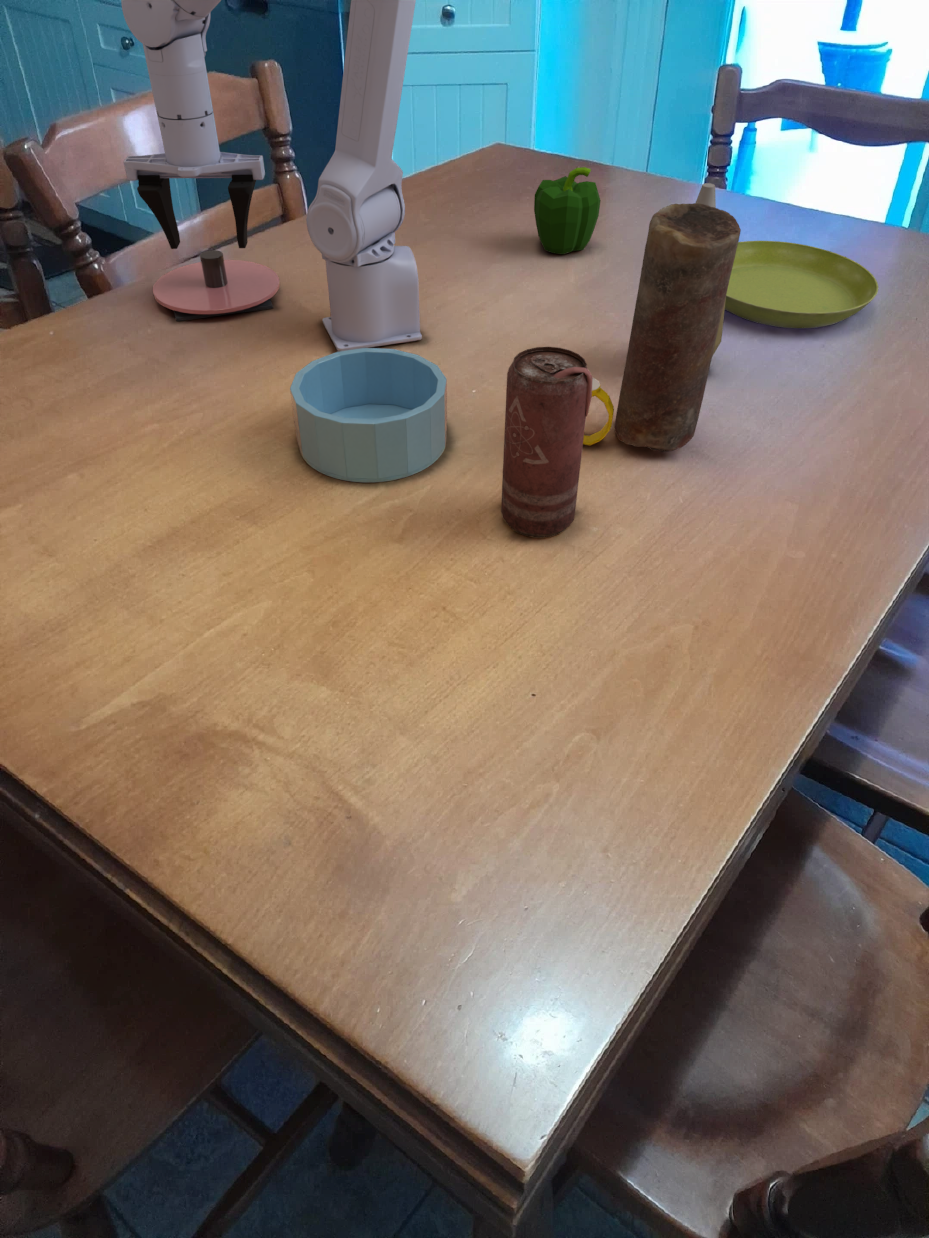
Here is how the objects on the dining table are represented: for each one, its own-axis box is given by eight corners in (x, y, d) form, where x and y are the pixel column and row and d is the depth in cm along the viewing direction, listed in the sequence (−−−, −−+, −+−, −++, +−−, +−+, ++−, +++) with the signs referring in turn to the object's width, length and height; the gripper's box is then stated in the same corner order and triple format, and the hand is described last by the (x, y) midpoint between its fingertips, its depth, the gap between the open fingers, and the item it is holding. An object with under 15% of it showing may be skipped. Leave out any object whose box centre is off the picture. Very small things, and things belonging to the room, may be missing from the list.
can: (573, 545, 72) (591, 386, 63) (495, 534, 73) (501, 377, 64) (581, 501, 77) (599, 347, 67) (507, 492, 78) (515, 339, 68)
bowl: (421, 395, 90) (419, 339, 86) (466, 466, 80) (466, 407, 76) (286, 417, 87) (278, 360, 83) (316, 494, 77) (309, 434, 73)
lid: (286, 268, 112) (281, 231, 109) (273, 319, 101) (267, 279, 98) (168, 269, 112) (160, 231, 109) (142, 320, 101) (132, 280, 98)
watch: (542, 445, 83) (547, 386, 79) (546, 429, 85) (551, 371, 81) (607, 452, 82) (615, 393, 78) (610, 436, 84) (618, 378, 80)
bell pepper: (519, 251, 118) (523, 169, 111) (548, 232, 123) (554, 153, 116) (577, 265, 114) (585, 182, 108) (604, 245, 120) (614, 164, 113)
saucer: (674, 319, 103) (679, 292, 101) (708, 256, 117) (713, 230, 115) (863, 352, 97) (873, 324, 95) (876, 281, 111) (884, 255, 109)
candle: (700, 427, 86) (747, 208, 72) (689, 467, 81) (736, 239, 67) (621, 413, 88) (653, 196, 74) (605, 451, 82) (635, 227, 69)
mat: (257, 272, 112) (256, 269, 112) (273, 308, 104) (272, 305, 104) (166, 284, 109) (165, 280, 109) (176, 321, 102) (175, 318, 101)
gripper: (104, 123, 90) (137, 259, 100) (250, 123, 91) (269, 258, 100) (121, 105, 96) (151, 236, 105) (259, 105, 96) (276, 235, 105)
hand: (209, 245), depth 103 cm, fingers open, 7 cm apart
